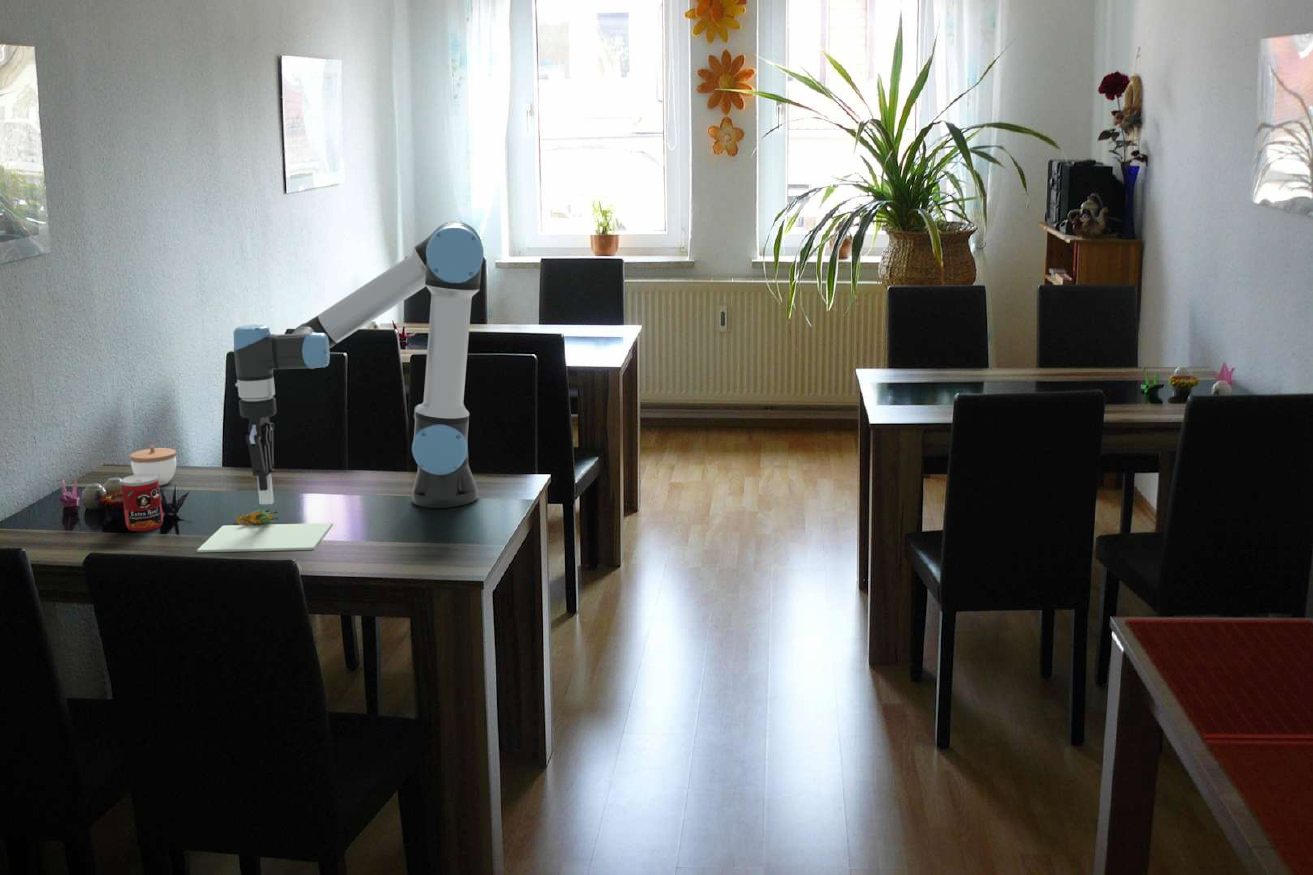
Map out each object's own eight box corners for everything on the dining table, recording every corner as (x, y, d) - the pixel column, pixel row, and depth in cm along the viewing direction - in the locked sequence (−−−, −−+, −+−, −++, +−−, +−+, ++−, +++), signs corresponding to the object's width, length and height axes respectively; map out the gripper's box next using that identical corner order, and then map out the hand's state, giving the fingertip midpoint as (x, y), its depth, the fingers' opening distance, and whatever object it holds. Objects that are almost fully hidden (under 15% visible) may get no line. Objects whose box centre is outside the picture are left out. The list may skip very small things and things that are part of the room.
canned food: (128, 533, 278) (122, 484, 276) (124, 524, 285) (118, 476, 283) (165, 528, 282) (160, 480, 279) (161, 519, 289) (155, 471, 286)
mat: (332, 525, 282) (332, 522, 281) (313, 549, 265) (313, 547, 265) (223, 527, 281) (222, 525, 281) (197, 552, 265) (196, 550, 265)
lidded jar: (169, 488, 314) (165, 451, 312) (125, 489, 314) (121, 452, 312) (185, 477, 325) (181, 441, 322) (143, 477, 325) (139, 441, 323)
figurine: (287, 522, 282) (256, 529, 276) (254, 520, 290) (223, 527, 283) (285, 508, 282) (254, 515, 275) (252, 506, 289) (221, 513, 283)
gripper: (248, 391, 281) (258, 495, 287) (229, 404, 269) (240, 512, 274) (282, 391, 282) (291, 494, 287) (265, 403, 269) (275, 511, 274)
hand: (266, 503), depth 281 cm, fingers closed
